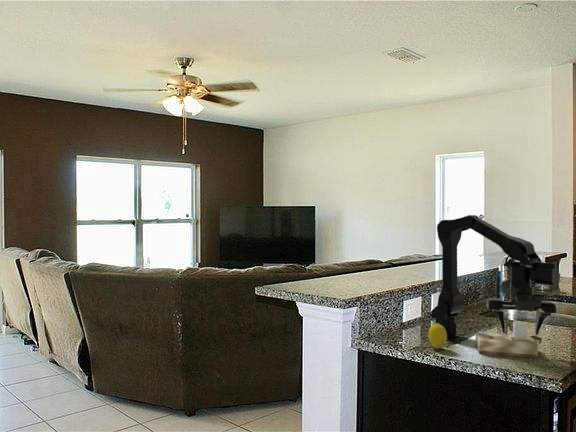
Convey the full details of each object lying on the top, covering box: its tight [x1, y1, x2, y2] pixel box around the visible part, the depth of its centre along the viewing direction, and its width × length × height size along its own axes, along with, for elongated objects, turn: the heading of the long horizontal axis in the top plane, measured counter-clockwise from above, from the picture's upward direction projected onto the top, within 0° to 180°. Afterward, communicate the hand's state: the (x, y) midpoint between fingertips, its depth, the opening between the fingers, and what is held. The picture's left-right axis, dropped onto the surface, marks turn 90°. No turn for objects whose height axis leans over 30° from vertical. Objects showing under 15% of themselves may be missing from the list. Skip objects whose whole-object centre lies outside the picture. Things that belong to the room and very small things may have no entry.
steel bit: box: [512, 320, 528, 342], centre depth 152 cm, size 3×3×8 cm
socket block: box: [475, 332, 539, 359], centre depth 153 cm, size 16×10×4 cm, turn 76°
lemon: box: [427, 323, 448, 350], centre depth 155 cm, size 6×6×8 cm
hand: (519, 333), depth 152 cm, fingers open, 9 cm apart
